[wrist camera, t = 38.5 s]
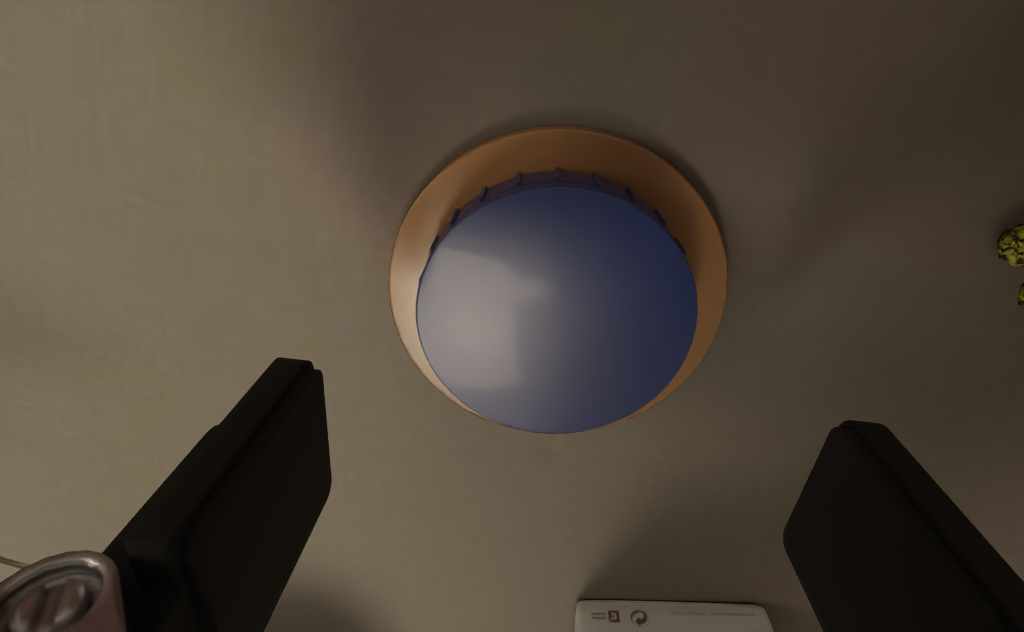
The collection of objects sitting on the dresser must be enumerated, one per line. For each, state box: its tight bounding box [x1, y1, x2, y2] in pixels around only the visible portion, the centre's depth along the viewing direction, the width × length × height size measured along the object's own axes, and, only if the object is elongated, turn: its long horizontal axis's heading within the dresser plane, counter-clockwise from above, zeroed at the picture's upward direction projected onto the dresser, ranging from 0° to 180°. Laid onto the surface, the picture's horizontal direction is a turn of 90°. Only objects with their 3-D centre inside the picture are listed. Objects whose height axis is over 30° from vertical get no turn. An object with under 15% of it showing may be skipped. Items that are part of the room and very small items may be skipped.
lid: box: [416, 167, 698, 434], centre depth 14 cm, size 7×7×2 cm
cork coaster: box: [389, 125, 728, 433], centre depth 15 cm, size 9×9×1 cm
